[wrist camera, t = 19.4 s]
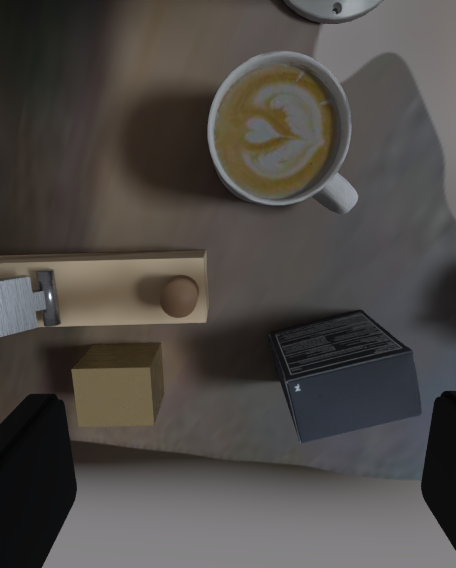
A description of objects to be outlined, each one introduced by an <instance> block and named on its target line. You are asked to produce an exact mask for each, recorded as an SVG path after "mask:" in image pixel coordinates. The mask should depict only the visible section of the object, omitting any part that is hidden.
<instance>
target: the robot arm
mask: <svg viewBox="0 0 456 568" xmlns="http://www.w3.org/2000/svg"><path fill="white" fill-rule="evenodd" d="M283 1H284V3H285V4H286V5H287V6H288V7H290V8H291V9H292V10H293V11H295V12H296V13H297V14H299V15H301V16H303V17H305V18H307V19H309V20H311V21H315V22H319V23H323V24H339V23H344V22H349V21H352V20H355V19H357V18H359V17H362V16H364V15H366V14H367V13H368V12H370V11H372V10H373V9H374V8H376V7H377V6H378V5H379V4H380V3H381V2H382V1H383V0H283ZM332 11H335V12H336V14H334V13H333V12H332ZM421 490H422V495H423V497H424V500H425V502H426V503H427V505H428V507H429V508H430V510H431V512H432V513H433V515H434V516H435V518H436V519H437V521H438V523H439V524H440V526H441V528H442V529H443V531H444V532H445V534H446V536H447V537H448V539H449V540H450V542H451V544H452V545H453V547H454V548H455V550H456V391H444V392H443V393H442V394H441V396H440V397H437V398H436V399H435V402H434V407H433V413H432V420H431V426H430V432H429V438H428V444H427V451H426V457H425V463H424V469H423V476H422V482H421ZM76 491H77V484H76V478H75V471H74V464H73V458H72V451H71V445H70V438H69V431H68V425H67V418H66V411H65V405H64V402H63V400H58V398H57V396H56V395H55V394H30V395H28V396H27V397H26V398H25V399H24V400H23V401H22V402H21V403H20V404H19V405H18V406H17V407H16V408H15V409H14V410H13V411H12V412H11V413H10V415H9V416H8V417H7V418H6V419H5V420H4V421H3V422H2V423H1V424H0V568H42V566H43V564H44V562H45V560H46V558H47V556H48V554H49V552H50V550H51V548H52V546H53V544H54V542H55V540H56V538H57V536H58V533H59V532H60V530H61V528H62V526H63V524H64V521H65V519H66V518H67V515H68V513H69V511H70V509H71V507H72V505H73V503H74V501H75V497H76Z"/></svg>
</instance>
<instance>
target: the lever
mask: <svg viewBox="0 0 456 568" xmlns="http://www.w3.org/2000/svg"><path fill="white" fill-rule="evenodd" d="M36 277H37V284H38V289H37V290H32V287H31V280H30V276H27V275H21V276H14V277H7V278H1V279H0V337H2V336H6V335H10V334H14V333H18V332H22V331H26V330H30V329H34V328H38V325H37V319H36V312H35V311H40V310H42V316H43V323H44V326H46V327H51V326H57V325H59V324H61V317H60V310H59V302H58V295H57V288H56V281H55V274H54V269H44V270H38V271H36Z"/></svg>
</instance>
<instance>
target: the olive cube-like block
mask: <svg viewBox="0 0 456 568" xmlns="http://www.w3.org/2000/svg"><path fill="white" fill-rule="evenodd" d="M71 370H72V378H73V386H74V394H75V401H76V409H77V417H78V425H79V427H98V426H144V425H154V424H155V421H156V418H157V415H158V412H159V408H160V405H161V402H162V399H163V396H164V380H163V365H162V350H161V343H121V344H94V345H93V346H92V347H91V348H90V349H89V350H88V351H87V353H86V354H85V355H84V356H83V357H82V358H81V359H80V360H79V361H78V362H77V364H76V365H75V366H74V367H73V368H72V369H71Z"/></svg>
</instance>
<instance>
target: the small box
mask: <svg viewBox="0 0 456 568" xmlns="http://www.w3.org/2000/svg"><path fill="white" fill-rule="evenodd" d="M268 338H269V341H270V343H271V348H272V352H273V355H274V359H275V363H276V370H277V373H278V376H279V379H280V382H281V385H282V388H283V391H284V394H285V397H286V401H287V404H288V407H289V410H290V413H291V416H292V419H293V422H294V425H295V429H296V432H297V435H298V438H299V442H300V443H305V442H309V441H313V440H318V439H322V438H326V437H330V436H334V435H338V434H343V433H347V432H351V431H355V430H360V429H364V428H368V427H372V426H377V425H381V424H385V423H389V422H394V421H398V420H403V419H407V418H411V417H416V416H420V415H421V414H422V408H421V400H420V393H419V385H418V380H417V372H416V366H415V359H414V353H413V351H412V350H411V349H410V348H408V347H407V346H405V345H404V344H403V343H401V342H400V341H398V340H397V339H396V338H395V337H393V336H392V335H391V334H390V333H389V332H388V331H386V330H385V329H384V328H383V327H381V326H380V325H379V324H378V323H376V322H375V321H374V320H373V319H372V318H370V317H369V316H368V315H367V314H366V313H365V312H364V311H363V310H360V311H357V312H352V313H348V314H344V315H340V316H336V317H331V318H328V319H323V320H320V321H315V322H311V323H307V324H303V325H299V326H295V327H291V328H287V329H283V330H279V331H275V332H271V333H269V335H268Z"/></svg>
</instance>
